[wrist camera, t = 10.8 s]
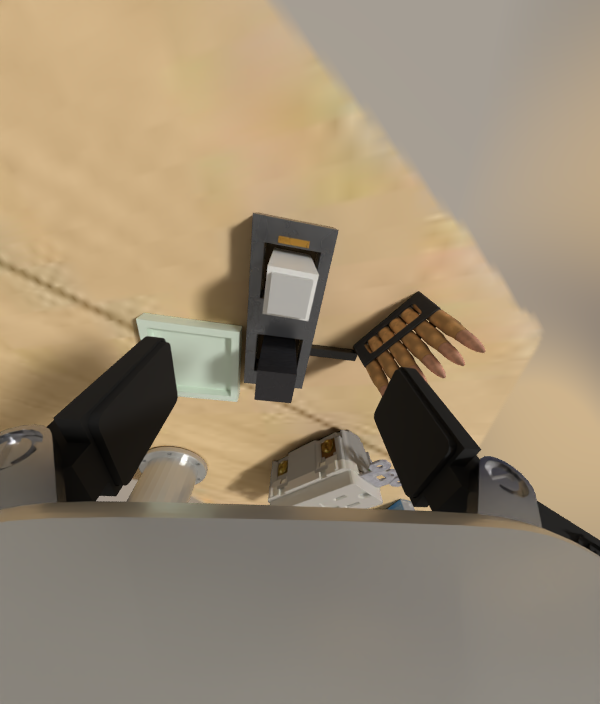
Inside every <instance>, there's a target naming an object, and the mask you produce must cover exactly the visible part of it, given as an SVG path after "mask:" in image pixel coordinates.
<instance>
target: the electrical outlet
mask: <svg viewBox="0 0 600 704" xmlns="http://www.w3.org/2000/svg"><path fill="white" fill-rule="evenodd" d="M377 465H382V466H381V467H376V466H377ZM390 467H391V464H390V463H389V462H388V461H387V460H377V461H375V462H372V461H371V460H370V456H369V453H368V452H365V449H364V447H363V443H361V442H360V438H359V437H358V436H357V435H355V434H353V433H352V432H351V431H349V430H348V431H345V430H340V432H339V433H335V432H334V433H333V434H331V435H329V436H327V437H325V438H323V439H321V440H319V441H316V440H314V441H312V442H310V443H308V444H306V445H304V446H302V447H300V448H298V449H296V450H294V451H292V452H290V453H289V454H288V456H286V457H284V458H282V459H280V460H278V461H273V462H272V470H271V478H270V487H269V496H268V502H269V503H270V505H274V506H305V507H335V508H363V509H367V508H371V507H374V506H377V505H380V504H382V503H383V501H382V497H381V493H380V487H381V486H384V485H387V484H390V485H391V486H396V487H399V486H402V485H401V483H400V482H397V481H400V480H399V478H398V476H397V473H396V471H395V469H389V468H390ZM379 475H383V476H384V477H385V478H382V479H378V478H376V476H379Z"/></svg>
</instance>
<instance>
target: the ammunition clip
mask: <svg viewBox="0 0 600 704" xmlns="http://www.w3.org/2000/svg"><path fill="white" fill-rule="evenodd" d="M419 314H420V315H419ZM426 319H427V320H428V321H429V322H428V321H427V320H426ZM406 324H408V325H406ZM436 327H437V328H438V329H440V330H441V331H442V332H443V333H445V334H446V335H448V336H450V337H452V338H454V339H455V340H457V341H459V342H460V343H461V344H463V345H464V346H466V347H468V348H470V349H472V350H474V351H477V352H481V353H484V352H485V348H484V346H483V344H482V343H481V342H480V341H479V339H477V338H476V337H475V336H474V335H473V334H472V333H470V332H469V331H468V330H467V329H466V328H464V327H463V326H462V324H461V323H460V322H459V321H457V320H456V319H454V318H453V317H452V316H450V315H449V314H447V313H446V312H444V311H443V310H441V309H440V308H439V307H438V306H437V305H436V304H434V303H433V302H432V301H431V300H429V299H428V298H427V297H426V296H424V295H423V294H422V293H421V292H419V291H418V292H417V293H416V294H414V295H413V296H412V297H411V298H410V299H408V300H407V301H406V302H405V303H404V304H402V305H401V306H400V307H399V308H398V309H396V310H395V311H394V312H393V313H392V314H391V315H389V316H388V317H387V318H386V319H385V320H383V321H382V322H381V323H380V324H379V325H377V326H376V327H375V328H374V329H373V330H372V331H370V332H369V333H368V334H367V335H366V336H364V337H363V338H362V339H361V340H360V341H358V342H357V343H356V344H355V345H354V346H353V348H354V349H355V351H356V353H357V355H358V356H359V358H360V360H361V362H362V363H363V365H364V367H365V368H366V369H367V371H368V373H369V375H370V377H371V379H372V381H373V383H374V385H375V386H376V387H377V388H378V390H379V392H380V393H381V395H382V396H383V394H384V392H385V390H386V388H387V386H388V384H389V383H388V379H387V377H386V375H387V376H388V377H389V378H390V379H391V378H392V376H393V374H394V372H395V370H398V369H399V368H400V367H399V366H398V364H399V365H400V366H401V367H408V368H414V369H416V370H417V371H418V372H419V373H420V375H421V376H422V377H423V378H424V380H425V381H426V382H427V380H426V378H425V376H424V374H423V372H422V371H421V370H420V368H419V367H418V365H417V364H416V362H415V360H414V358H413V356H412V355H411V354H410V352H411V353H412V354H413V355H414V356H415V357H416V358H418V359H419V360H420V361H421V362H422V363H423V364H424V365H425V366H426V367H427V368H428V369H429V370H430V371H431V372H433V373H434V374H436V375H437V376H439V377H441V378H445V377H446V374H445V371H444V369H443V367H442V365H441V364H440V362H439V361H438V360H437V359H436V358H435V357H434V355H433V354H432V353H431V351H430V350H429V348H428V346H427V345H426V344H425V343H424V342H423V341H422V340H421V338H422V339H423V340H424V341H425V342H426V343H427V344H428V345H430V346H431V347H433V348H435V349H436V350H437V351H438V352H440V353H441V354H442V355H443V356H444V357H446V358H447V359H448V360H450V361H452V362H453V363H455V364H458V365H461V366H464V365H465V362H464V359H463V358H462V356H461V354H460V353H459V352H458V351H457V349H456V348H455V347H454V346H452V345H451V343H450V342H449V341H448V340H447V339H446V338H445V337H444V335H443V334H442V333H441V332H440V331H438V330H437V329H436ZM412 330H414V331H415V332H416V334H415V333H414V332H413V331H412ZM394 333H395V334H396V335H395V334H394ZM400 340H401V341H402V343H403V344H402V343H401V341H400ZM383 343H384V344H383ZM407 349H408V350H409V351H410V352H409V351H408V350H407ZM388 350H389V351H390V352H389V351H388ZM376 358H377V359H376ZM394 358H395V360H396V361H397V362H398V364H397V363H396V361H395V360H394ZM382 368H383V369H382ZM383 370H384V371H383ZM384 372H385V373H386V375H385V373H384Z"/></svg>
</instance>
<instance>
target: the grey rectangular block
mask: <svg viewBox="0 0 600 704" xmlns="http://www.w3.org/2000/svg"><path fill="white" fill-rule="evenodd" d="M318 277H319V274H318V272H317V269H316V267H315V265H314V263H313V260H312V258H311V256H310V255H309V254H304V253H299V252H294V251H289V250H284V249H279V248H274V250H273V253H272V255H271V258H270V261H269V263H268V267H267V277H266V286H265V295H264V304H263V313H262V314H267V315H273V316H279V317H285V318H292V319H298V320H304V321H308V320H309V316H310V312H311V307H312V303H313V299H314V294H315V290H316V286H317V281H318Z"/></svg>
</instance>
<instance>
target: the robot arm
mask: <svg viewBox="0 0 600 704" xmlns="http://www.w3.org/2000/svg"><path fill="white" fill-rule="evenodd" d="M177 397H178V393H177V386H176V380H175V373H174V366H173V359H172V352H171V346H170V343H168V342H166V341H165V339H164V338H159V337H151V336H146V337H144V338H143V339H142V340H141V341H140V342H139V343H137V344H136V345H135V346H134V347H133V348H132V349H131V350H130V351H128V352H127V353H126V354H125V355H124V356H123V357H122V358H121V359H119V360H118V361H117V362H116V363H115V364H114V365H113V366H111V367H110V368H109V369H108V370H107V371H106V372H105V373H104V374H102V375H101V376H100V377H99V378H98V379H97V380H96V381H95V382H93V383H92V384H91V385H90V386H89V387H88V388H87V389H86V390H84V391H83V392H82V393H81V394H80V395H79V396H78V397H76V398H75V399H74V400H73V401H72V402H71V403H70V404H69V405H67V406H66V407H65V408H64V409H63V410H62V411H61V412H60V413H58V414H57V415H56V416H55V417H54V418H53V419H54V421H53V422H52V423H51V424H49V425H48V426H47V427H45V426H42V425H22V426H18V427H14V428H10V429H7V430H4V431H1V432H0V704H600V540H598V539H597V538H595V537H593V536H592V535H591V534H589V533H587V532H586V531H584V530H583V529H581V528H579V527H578V526H576V525H575V524H573V523H571V522H570V521H568V520H567V519H565V518H564V517H562V516H560V515H559V514H557V513H556V512H554V511H552V510H551V509H549V508H548V507H546V506H544V505H543V504H541V503H540V502H538V501H537V499H536V494H535V492H534V489H533V487H532V486H531V484H530V483H529V481H528V480H527V479H526V478H525V477H524V476H523V475H522V474H521V473H520V472H519V471H518V470H516V469H515V468H514V467H512V466H511V465H509V464H508V463H506V462H504V461H502V460H500V459H498V458H495V457H491V456H484V457H483V458H481V459H479V458H478V457H477V454H478V452H479V451H480V450H481V449H480V448H479V446H478V445H477V444H476V443H475V441H474V440H473V439H472V438H471V436H470V435H469V434H468V433H467V431H466V430H465V429H464V428H463V426H462V425H461V424H460V423H459V422H458V420H457V419H456V418H455V417H454V415H453V414H452V413H451V412H450V410H449V409H448V408H447V407H446V405H445V404H444V403H443V402H442V401H441V399H440V398H439V397H438V396H437V394H436V393H435V392H434V391H433V389H432V388H431V387H430V386H429V384H428V383H427V382H426V381H425V380H424V378H423V377H422V376H421V375H420V373H419V372H418V371H417V370H416V369H414V368H408V367H400V368H399V369H398V370H395V372H394V374H393V376H392V378H391V380H390V382H389V384H388V386H387V388H386V390H385V392H384V394H383V396H382V398H381V400H380V402H379V405H378V407H377V409H376V411H375V413H374V420H375V422H376V425H377V427H378V430H379V432H380V434H381V437H382V439H383V442H384V444H385V446H386V449H387V451H388V454H389V456H390V459H391V461H392V463H393V466H394V468H395V471H396V473H397V475H398V478H399V480H400V483H401V485H402V488H403V490H404V492H405V494H406V495H407V496H408V497H410V500H411V502H412V504H413V507H428V505H429V506H430V508H431V510H432V511H414V510H389V509H363V508H335V507H305V506H274V505H242V504H206V503H188V502H189V499H190V496H191V494H192V491H193V488H194V485H195V484H198V483H200V482H201V481H202V480H203V479H204V478H205V476H206V474H207V470H208V469H207V464H206V463H205V461H204V460H203V459H202V458H201V457H200V456H198V455H197V454H195V453H193V452H191V451H189V450H186V449H182V448H177V447H158V448H154V449H151V450H149V448H150V447H151V445H152V443H153V442H154V440H155V438H156V436H157V435H158V433H159V431H160V429H161V428H162V426H163V424H164V423H165V421H166V419H167V417H168V416H169V414H170V412H171V411H172V409H173V407H174V405H175V404H176V401H177ZM148 450H149V451H148ZM138 467H139V470H140V471H141V473H142V475H141V476H140V478H139V480H138V482H137V484H136V486H135V487H134V489H133V491H132V493H131V495H130V496H129V498H128V500H127V502H98V501H96V500H97V498H98V497H99V496H117V494H118V493H119V491H120V489H121V488H122V486H123V485H127V484H128V483H129V482H130V481H131V479H132V478H133V476H134V474H135V473H136V471H137V469H138Z"/></svg>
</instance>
